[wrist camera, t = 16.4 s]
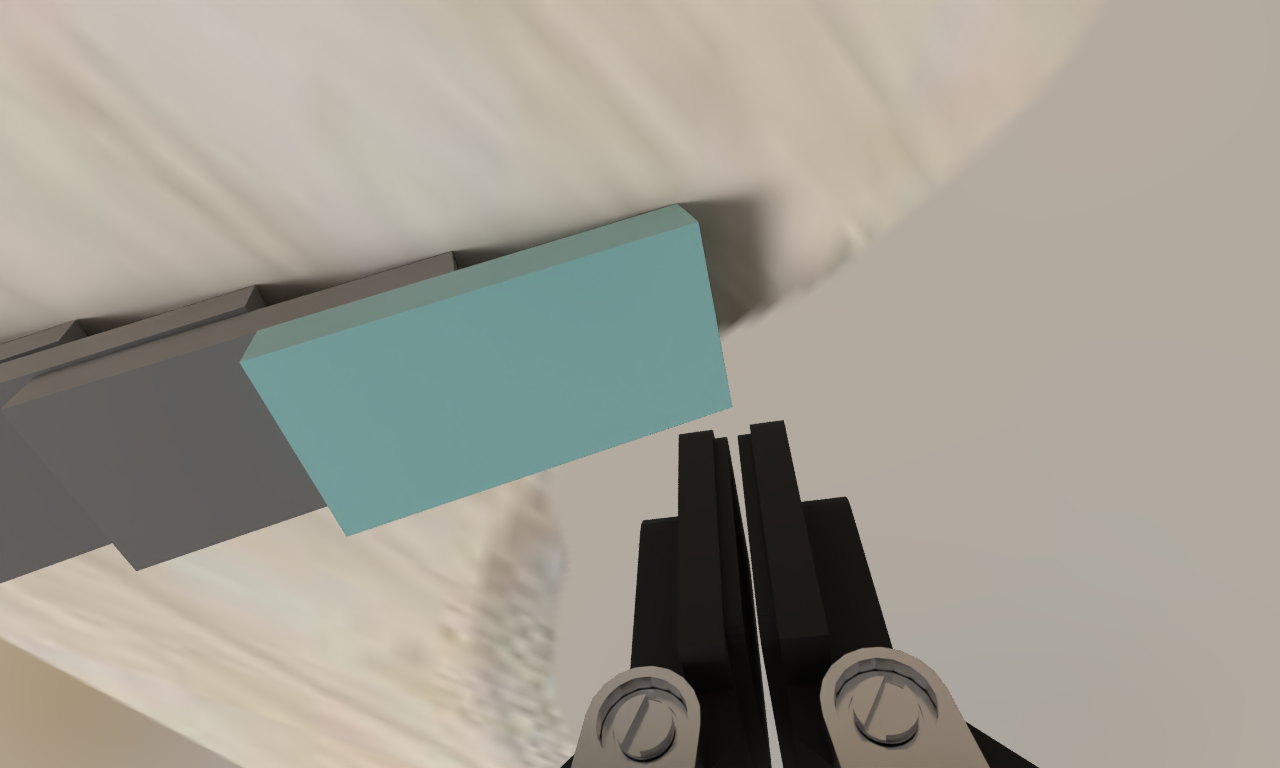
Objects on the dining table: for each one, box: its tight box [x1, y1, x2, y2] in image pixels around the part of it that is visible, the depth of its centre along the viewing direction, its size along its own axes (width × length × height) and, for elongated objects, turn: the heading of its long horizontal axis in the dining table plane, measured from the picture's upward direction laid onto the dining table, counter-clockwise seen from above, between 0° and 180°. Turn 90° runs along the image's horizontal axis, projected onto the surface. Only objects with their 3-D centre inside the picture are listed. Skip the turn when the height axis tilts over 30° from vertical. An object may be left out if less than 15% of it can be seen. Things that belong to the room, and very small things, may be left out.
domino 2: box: [0, 251, 458, 571], centre depth 17 cm, size 2×5×10 cm
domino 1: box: [0, 285, 267, 583], centre depth 18 cm, size 2×5×10 cm
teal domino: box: [240, 204, 732, 536], centre depth 17 cm, size 2×5×10 cm
